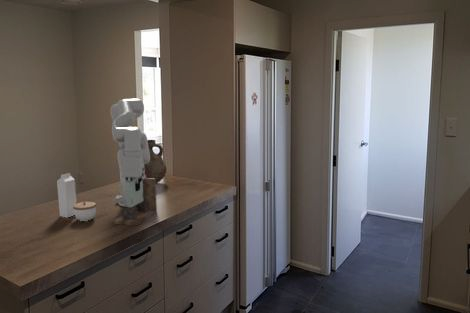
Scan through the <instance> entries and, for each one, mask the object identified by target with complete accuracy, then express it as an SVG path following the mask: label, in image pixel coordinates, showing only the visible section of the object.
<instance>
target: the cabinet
mask: <svg viewBox="0 0 470 313" xmlns="http://www.w3.org/2000/svg"><path fill="white" fill-rule="evenodd" d="M134 179H136V178H133V180H134ZM156 186H157V185H156V180H155V178H145V179H143V200H144V201H142V202H141V203H139V204H137V205H135V206H134V208H133V209H131V210H128V209H127V208H126V209H124V210H122V215H121V216H119V217H117V218H116V219H114V220H113V224H115V225H124V224H126V225H127V226H135V225H137V226H138V225H139V224H142V223H143V222H144V221H145V220H147V219H149V218H150V217H151V216H153V215H154V214H156V213H157V212H158V209H157V206H158V205H157V187H156ZM126 225H125V226H126Z"/></svg>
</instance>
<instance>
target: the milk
mask: <svg viewBox="0 0 470 313" xmlns="http://www.w3.org/2000/svg"><path fill="white" fill-rule="evenodd" d="M75 181H76V179H75V178H74V177H73V176H72V175H71V172H68V173H65V174H64V173H63V174H60V178H59V179H57V180H56V187H57V198H58V208H59V217H60V216H63V217H62V218H64V217H71V216H73V215H74V210H73V205H74V204H77V194H76V193H77V191H76V182H75ZM73 217H74V216H73ZM71 218H72V217H71Z"/></svg>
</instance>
